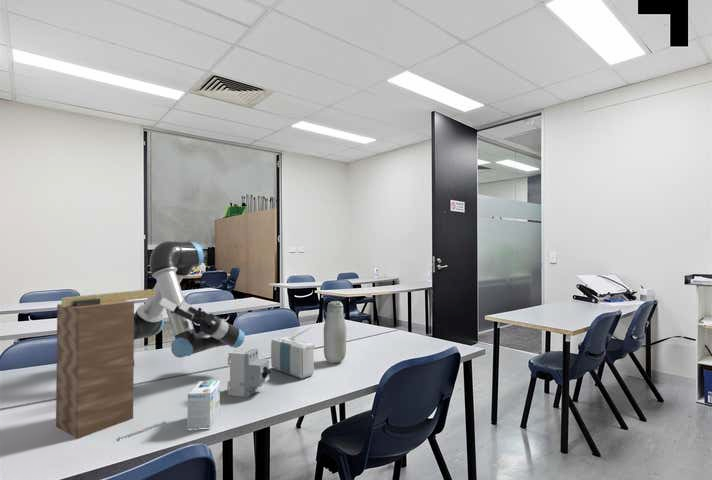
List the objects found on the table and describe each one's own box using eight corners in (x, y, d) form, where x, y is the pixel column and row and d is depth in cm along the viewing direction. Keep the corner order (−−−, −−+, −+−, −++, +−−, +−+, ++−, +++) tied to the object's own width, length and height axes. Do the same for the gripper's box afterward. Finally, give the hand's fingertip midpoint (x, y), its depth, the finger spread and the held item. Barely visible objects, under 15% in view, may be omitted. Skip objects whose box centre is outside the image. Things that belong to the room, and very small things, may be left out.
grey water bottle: (333, 367, 169) (333, 303, 170) (319, 362, 177) (319, 301, 177) (350, 362, 176) (350, 301, 176) (336, 357, 183) (336, 299, 184)
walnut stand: (55, 426, 114) (57, 299, 114) (110, 408, 126) (111, 294, 127) (77, 438, 106) (79, 302, 107) (133, 418, 119) (134, 296, 120)
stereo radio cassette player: (270, 369, 166) (270, 323, 167) (285, 365, 172) (285, 320, 173) (300, 381, 152) (300, 330, 152) (316, 375, 158) (316, 327, 158)
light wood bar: (61, 306, 111) (61, 297, 111) (150, 296, 133) (150, 289, 133) (66, 307, 109) (66, 298, 109) (155, 297, 131) (155, 289, 131)
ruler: (119, 441, 105) (119, 437, 105) (118, 440, 106) (118, 436, 106) (165, 425, 115) (165, 421, 115) (164, 424, 116) (164, 420, 116)
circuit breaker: (264, 398, 135) (264, 355, 135) (227, 395, 138) (227, 352, 138) (273, 390, 142) (273, 349, 142) (238, 387, 145) (238, 347, 145)
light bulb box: (198, 414, 121) (198, 380, 122) (220, 414, 122) (220, 379, 122) (186, 431, 111) (186, 393, 111) (210, 430, 111) (210, 392, 111)
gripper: (199, 313, 161) (157, 290, 146) (238, 321, 148) (196, 296, 132) (190, 330, 158) (146, 308, 142) (229, 340, 144) (185, 316, 129)
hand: (170, 302), depth 137 cm, fingers open, 12 cm apart
